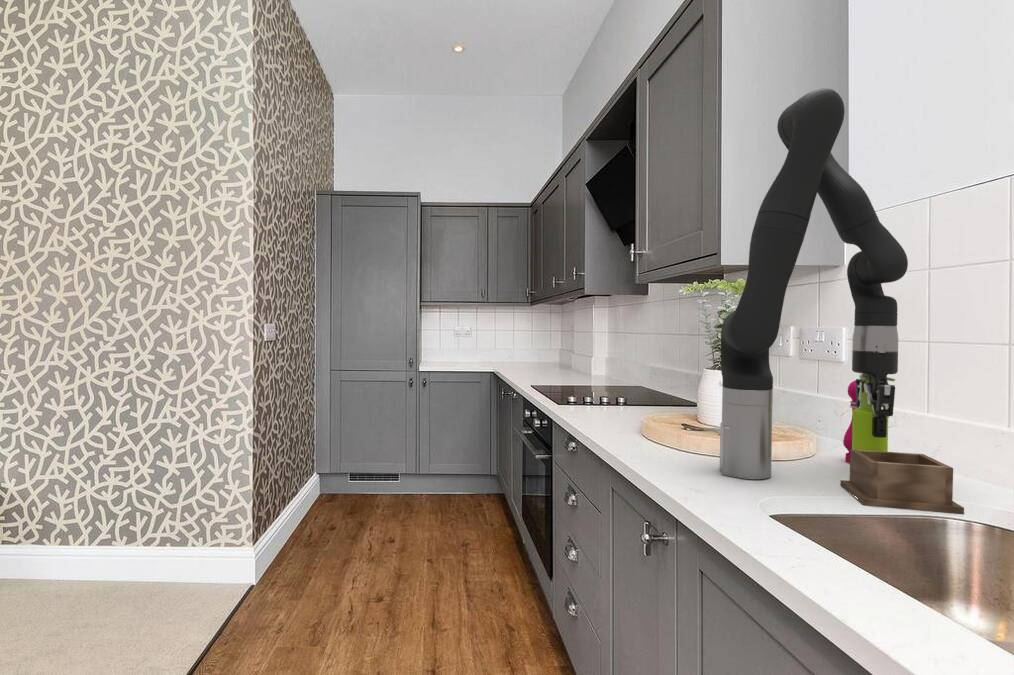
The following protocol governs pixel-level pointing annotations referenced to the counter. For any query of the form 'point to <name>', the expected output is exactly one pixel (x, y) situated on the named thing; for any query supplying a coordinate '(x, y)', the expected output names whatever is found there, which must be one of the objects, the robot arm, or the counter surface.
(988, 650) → the counter surface
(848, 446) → the pepper mill
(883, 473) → the box
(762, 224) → the robot arm
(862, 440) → the soap dispenser
